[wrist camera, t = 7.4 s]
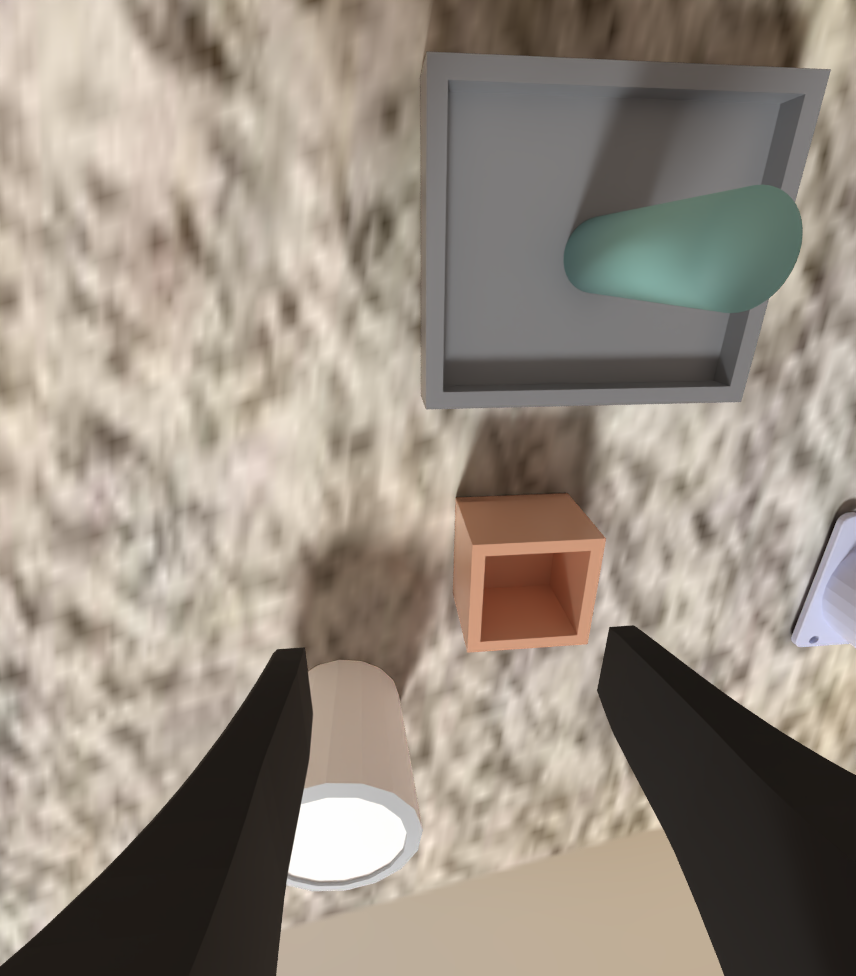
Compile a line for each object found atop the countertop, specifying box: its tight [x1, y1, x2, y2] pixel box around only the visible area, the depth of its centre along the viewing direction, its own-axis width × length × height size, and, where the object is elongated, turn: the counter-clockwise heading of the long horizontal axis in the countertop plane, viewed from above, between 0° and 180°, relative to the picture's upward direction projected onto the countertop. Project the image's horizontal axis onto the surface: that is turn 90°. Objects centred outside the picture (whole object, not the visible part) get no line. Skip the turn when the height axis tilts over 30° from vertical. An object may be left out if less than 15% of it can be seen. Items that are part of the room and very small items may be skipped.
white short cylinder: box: [286, 660, 423, 891], centre depth 23 cm, size 7×7×7 cm
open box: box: [453, 493, 606, 652], centre depth 21 cm, size 5×5×4 cm
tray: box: [420, 52, 831, 409], centre depth 17 cm, size 12×10×2 cm
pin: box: [563, 185, 802, 313], centre depth 14 cm, size 2×2×8 cm
